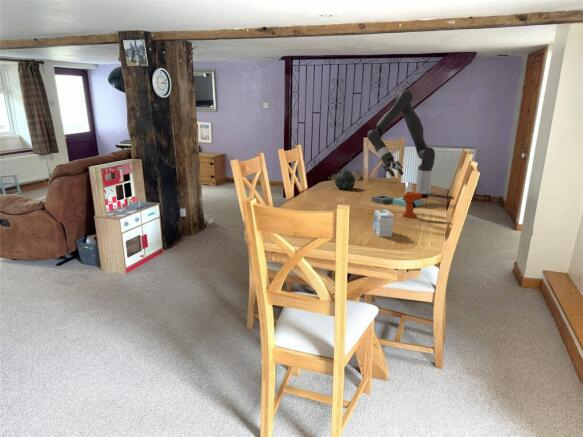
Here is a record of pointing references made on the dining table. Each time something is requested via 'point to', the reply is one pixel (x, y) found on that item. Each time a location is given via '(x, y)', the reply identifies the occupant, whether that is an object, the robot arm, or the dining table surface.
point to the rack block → (401, 202)
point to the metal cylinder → (408, 187)
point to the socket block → (382, 199)
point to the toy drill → (412, 203)
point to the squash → (345, 180)
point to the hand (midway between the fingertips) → (398, 175)
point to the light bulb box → (383, 223)
